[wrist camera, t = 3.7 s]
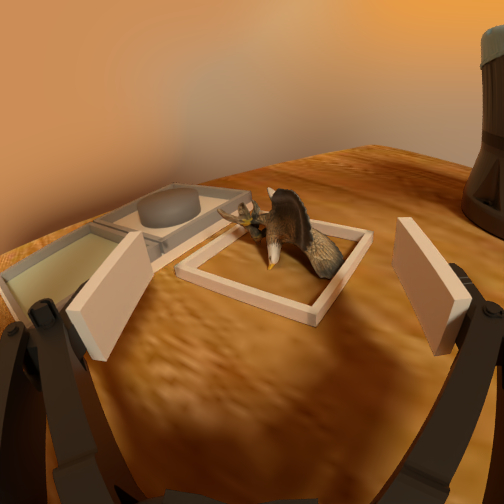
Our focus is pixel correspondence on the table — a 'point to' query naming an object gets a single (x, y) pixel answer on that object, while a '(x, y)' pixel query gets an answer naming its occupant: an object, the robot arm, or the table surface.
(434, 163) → the table surface
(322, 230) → the white square frame
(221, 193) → the tray
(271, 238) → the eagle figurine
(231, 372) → the table surface
